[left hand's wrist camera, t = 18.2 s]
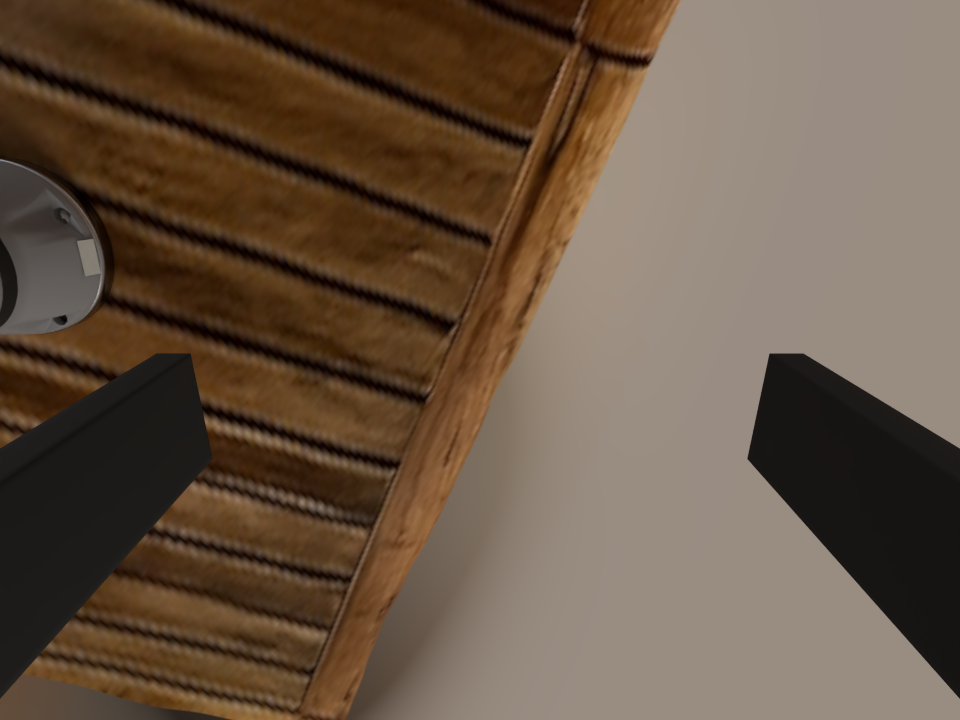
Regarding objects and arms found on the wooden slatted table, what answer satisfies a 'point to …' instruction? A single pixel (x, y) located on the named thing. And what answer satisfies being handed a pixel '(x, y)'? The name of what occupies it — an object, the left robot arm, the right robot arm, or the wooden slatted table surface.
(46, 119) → the wooden slatted table surface
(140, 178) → the wooden slatted table surface
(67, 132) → the wooden slatted table surface
